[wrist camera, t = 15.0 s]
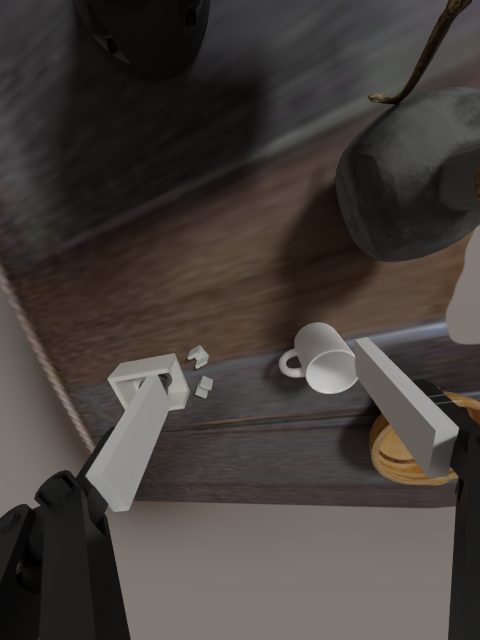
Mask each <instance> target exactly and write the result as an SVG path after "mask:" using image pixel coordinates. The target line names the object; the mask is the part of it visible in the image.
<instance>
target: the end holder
mask: <svg viewBox="0 0 480 640" xmlns="http://www.w3.org/2000/svg"><path fill="white" fill-rule="evenodd" d="M163 373H169V374H170V375H171V377H172V383H171V385H170V386H169V387H168V398H169V401H170V403H171V406H170V408H169V411H171V410H177V409H183V408H185V405H186V402H187V398H188V395H189V392H190V390H189V388H188V385H187V383H186V380H185V378H184V375H183V373H182V370H181V368H180V365H179V363H178V360H177V358H176V355H175V353H173V354H168V355H163V356H157V357H152V358H147V359H141V360H136V361H130V362H125V363H120V365H119V366H118V367H117V368H116V369H115V370H114V372H113V373H112V374H111V375H110V376H109V377H108V381H109V383H110V384H111V386H112V388H113V390H114V391H115V393H116V395H117V396H118V398H119V400H120V402H121V403H122V405H123V407H124V409H125V410H126V409H127V408H128V406H129V405H130V403H131V401H132V400H133V398H134V397H135V395H136V393H137V392H138V390H139V388H138V387H139V384H140V382H141V381H142V380H144V379H146V377H147V376H151V375H157V374H163Z"/></svg>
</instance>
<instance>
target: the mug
mask: <svg viewBox="0 0 480 640" xmlns="http://www.w3.org/2000/svg"><path fill="white" fill-rule="evenodd" d="M294 346H295V348H294V349H291V350H289V351H287V352H285V353H284V354H283V355H282V356H281V358H280V360H279V368H280V370H281V372H282V373H283V374H285V375H287V376H289V377H306V380H307V382H308V384H309V385H310V387H312V388H313V389H314V390H316V391H318V392H320V393H325V394H334V393H339V392H342V391H344V390H346V389H348V388H349V387H351V386H352V385H353V384H354V383H355V382H356V381H357V379H358V378H357V376H356V371H355V355H354V353H353V352H352V351H351V350H350V348H349V347H348V346H347V345H346V343H345V342H344V341H343V340H342V338H341V337H340V336H339V334H338V333H337V332H336V331H335V330H334V329H333V328H332V327H331V326H329V325H328V324H325V323H321V322H315V323H310V324H308V325H306V326H304V327H303V328H301V329H300V330H299V331H298V333H297V334H296V337H295V340H294ZM294 356H298V359H299V361H300V364H301V367H300V368H295V369H292V368H288V367H287V366H286V362H287V360H288V359H290V358H291V357H294Z"/></svg>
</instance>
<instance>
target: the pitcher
mask: <svg viewBox="0 0 480 640" xmlns="http://www.w3.org/2000/svg"><path fill="white" fill-rule="evenodd" d="M471 2H472V0H449V1H448V3H447V6H446V9H445V10H444V12H443V13H442V14H441V16H440V17H439V19H438V21H437V23H436V25H435V27H434V29H433V31H432V33H431V35H430V38H429V40H428V42H427V44H426V46H425V48H424V51H423V53H422V55H421V57H420V59H419V61H418V63H417V65H416V67H415V69H414V72H413V74H412V76H411V77H410V79H409V81H408V83H407V84H406V86H405V87H404V89H403V90H402V91H401V92H400V93H399V94H397V95H394V96H392V97H386V96H385V95H386V94H379V93H375V94H370V95H368V98H369V99H370V101H371V102H379V103H383V104H394V105H395V106H393V107H391V108H389V109H388V110H386V111H385V112H384V113H382V114H381V115H379V116H378V117H376V118H375V119H374V120H372V121H371V122H370V123H369V124H368V125H367V126H366V127H365V128H364V129H363V130H362V131H361V132H360V133H359V134H358V135H357V136H356V137H355V138H354V139H353V140H352V142H351V143H350V144H349V146H348V147H347V148H346V150H345V151H344V152H343V154H342V157H341V159H340V162H339V164H338V167H337V170H336V176H335V186H336V193H337V198H338V202H339V206H340V210H341V213H342V216H343V219H344V222H345V224H346V226H347V229H348V231H349V233H350V235H351V237H352V239H353V241H354V243H355V244H356V245H357V246H358V247H360V248H361V249H362V250H363V251H364V252H365V253H366V254H368V255H369V256H371V257H373V258H375V259H377V260H379V261H384V262H395V261H405V260H411V259H416V258H421V257H424V256H427V255H430V254H432V253H435V252H438V251H440V250H442V249H445V248H447V247H448V246H450V245H452V244H454V243H456V242H457V241H459V240H461V239H462V238H463V237H465V236H466V235H467V234H469V233H470V232H471V231H472V230H474V229H475V228H476V227H477V226H478V225H479V224H480V90H477V89H473V88H466V87H444V88H439V89H435V90H431V91H427V92H424V93H420V94H417V95H414V96H412V97H410V98H408V99H406V100H404V101H402V100H403V99H404V98H405V97H406V96H407V95H408V94H409V93H410V92H411V91H412V90H413V88H414V87H415V86H416V84H417V83H418V81H419V80H420V78H421V76H422V75H423V73H424V72H425V70H426V68H427V67H428V65H429V63H430V62H431V60H432V58H433V57H434V55H435V53H436V51H437V49H438V48H439V46H440V44H441V42H442V40H443V39H444V37H445V35H446V33H447V32H448V30H449V28H450V26H451V24H452V22H453V20H454V19H455V18H456V17H457V15H458V14H459V13H460V12H462V11H463V10H464V9H465V8H466V7H467V6H468V5H470V4H471ZM401 101H402V102H401Z"/></svg>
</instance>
